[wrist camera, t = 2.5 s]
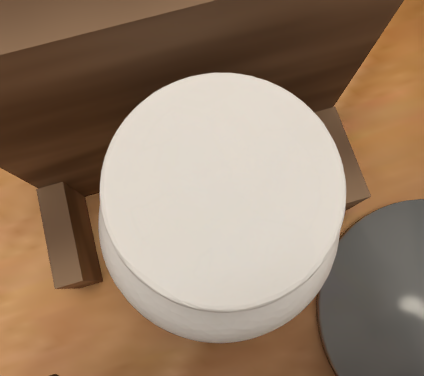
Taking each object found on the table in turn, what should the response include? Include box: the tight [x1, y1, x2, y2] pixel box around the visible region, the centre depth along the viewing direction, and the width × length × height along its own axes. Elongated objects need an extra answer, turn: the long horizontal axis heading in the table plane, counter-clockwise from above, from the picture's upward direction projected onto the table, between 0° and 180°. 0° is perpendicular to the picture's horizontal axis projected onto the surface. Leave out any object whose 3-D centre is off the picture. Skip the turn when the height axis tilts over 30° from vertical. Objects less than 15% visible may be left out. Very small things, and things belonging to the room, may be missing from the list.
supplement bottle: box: [98, 73, 346, 343], centre depth 13 cm, size 7×7×13 cm
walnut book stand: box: [0, 0, 404, 289], centre depth 15 cm, size 6×14×12 cm, turn 106°
